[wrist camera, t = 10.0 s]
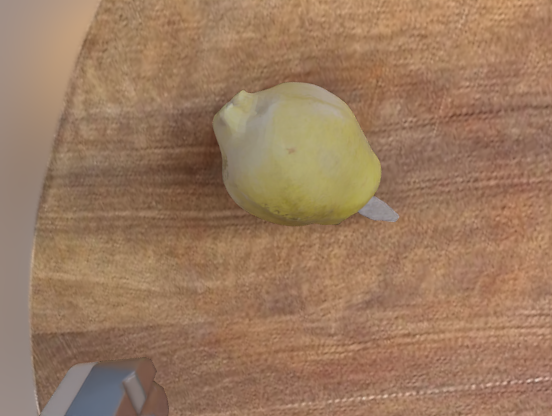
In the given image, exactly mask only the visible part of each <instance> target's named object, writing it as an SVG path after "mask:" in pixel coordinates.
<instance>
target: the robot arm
mask: <svg viewBox="0 0 552 416" xmlns="http://www.w3.org/2000/svg"><path fill="white" fill-rule="evenodd" d="M156 372H157V371H156V368H155V366H154V364H153V362H152V360H151V359H149V358H146V357H142V358H130V359H119V360H108V361H100V362H91V363H79V364H76V365H74V366H73V367H71V368H70V369H69V371H68V372H67V374H66V375H65V377H64V378H63V380H62V381H61V383H60V384H59V386H58V388H57V389H56V391H55V392H54V394H53V395H52V397H51V398H50V400H49V401H48V403H47V404H46V406H45V407H44V409H43V411H42V412H41V414H40V415H39V416H168V413H169V406H168V400H167V396H166V393H165V390H164V388H163V387H162V386H160V385H159V384H157V383H156V382H155V381H153V380H154V377H155V375H156Z"/></svg>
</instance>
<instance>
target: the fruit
mask: <svg viewBox="0 0 552 416" xmlns="http://www.w3.org/2000/svg"><path fill="white" fill-rule="evenodd" d="M213 130H214V133H215V135H216V138H217V141H218V144H219V147H220V150H221V154H222V160H223V164H222V178H223V182H224V184H225V187H226V189H227V191H228V193H229V195H230V196H231V197H232V199H233V200H234V201H235V202H236V203H237V205H239V206H240V207H241V208H242V209H244V210H245V211H247V212H248V213H250V214H252V215H254V216H256V217H258V218H261V219H263V220H266V221H269V222H272V223H276V224H280V225H286V226H304V225H309V224H312V223H316V224H321V225H338V224H340V223H341V222H342V221H343V220H345V219H347V218H348V217H350V216H351V215H353V214H355V213H356V212H358V213H360V214H361V215H363V216H365V217H367V218H369V219H372V220H382V221H390V222H396V220H397V219H398V218H399V215H398V214H397V213H396V212H395V211H394V210H393V209H392V208H391V207H390V206H388V205H387V204H386V203H385V202H383V201H382V200H380V199H379V198H377V197H375V196H374V194H375V192H376V191H377V189H378V186H379V183H380V179H381V166H380V162H379V160H378V158H377V156H376V155H375V154H374V152H373V151H372V150H371V147H370V145H369V142H368V141H367V139H366V137H365V135H364V133H363V131H362V129H361V128H360V126H359V124H358V122H357V120H356V118H355V116H354V114H353V112H352V111H351V110H350V108H349V107H348V106H347V105H346V104H345V103H344V102H343V101H342V100H341V99H340V98H338V97H337V96H335V95H334V94H332V93H330V92H329V91H327V90H325V89H323V88H321V87H319V86H316V85H313V84H309V83H300V82H286V83H281V84H279V85H276V86H274V87H272V88H269V89H266V90H263V91H258V92H255V93H247V92H246V91H244V90H241V91H240V92H239V93H237V94H236V95H235V96H234V97H232V99H231V101H230V102H228V103H227V104H225V105H224V106H223V107H222V108H221V109H220V110H219V112H218V113H216V114H215V116H214V119H213Z"/></svg>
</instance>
